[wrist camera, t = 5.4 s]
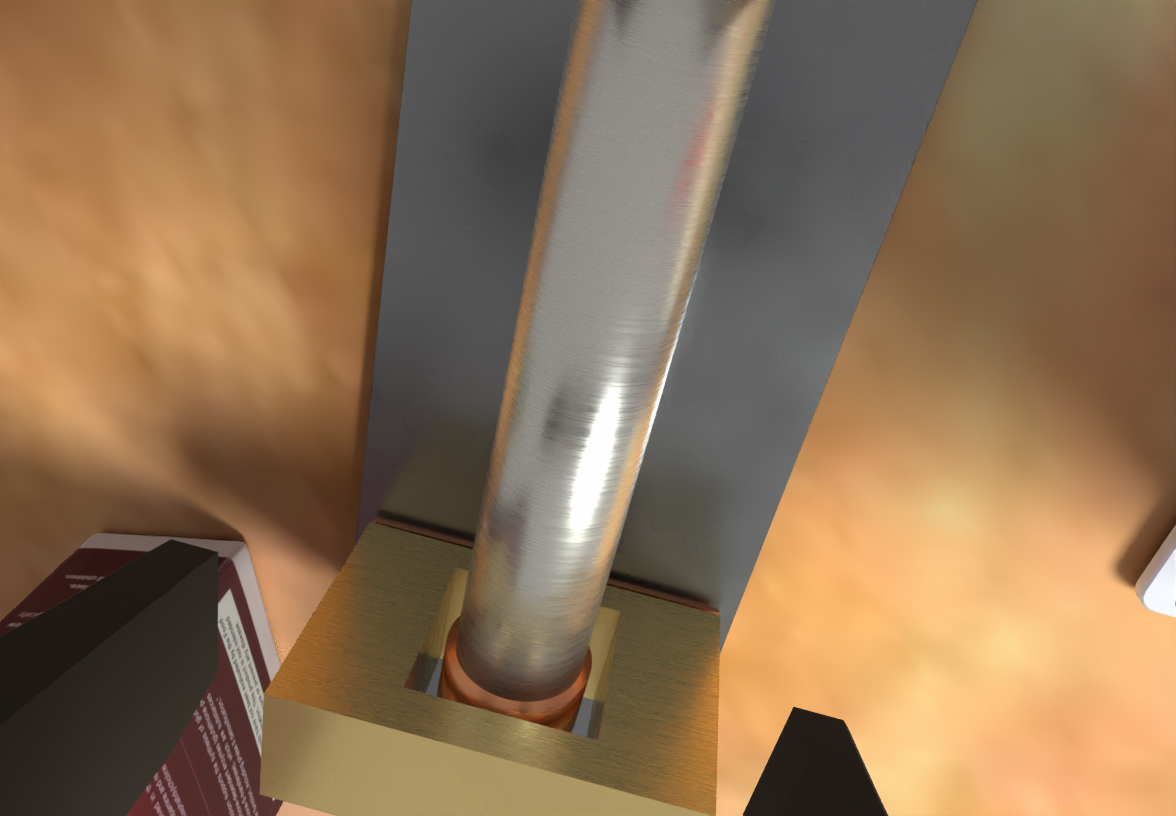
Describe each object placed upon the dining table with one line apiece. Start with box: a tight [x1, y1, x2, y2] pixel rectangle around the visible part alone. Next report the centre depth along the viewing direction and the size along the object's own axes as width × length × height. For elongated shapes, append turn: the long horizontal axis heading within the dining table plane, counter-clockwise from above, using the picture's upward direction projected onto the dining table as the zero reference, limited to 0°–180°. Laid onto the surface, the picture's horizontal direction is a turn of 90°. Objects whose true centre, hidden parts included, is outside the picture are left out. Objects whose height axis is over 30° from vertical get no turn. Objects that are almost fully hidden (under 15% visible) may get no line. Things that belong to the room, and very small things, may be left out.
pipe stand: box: [355, 0, 977, 737], centre depth 18 cm, size 22×10×5 cm, turn 168°
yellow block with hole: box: [260, 522, 720, 816], centre depth 20 cm, size 3×9×6 cm, turn 78°
